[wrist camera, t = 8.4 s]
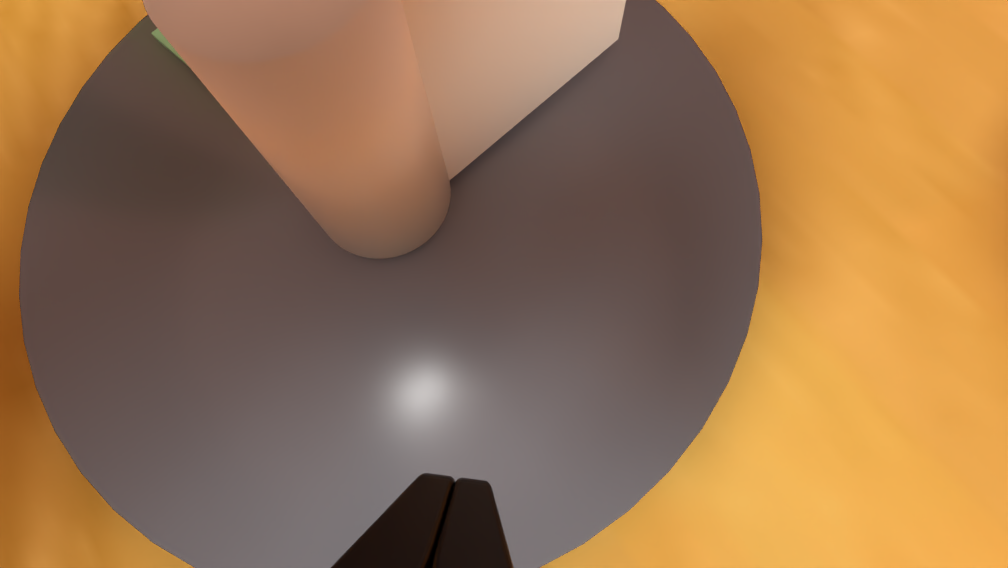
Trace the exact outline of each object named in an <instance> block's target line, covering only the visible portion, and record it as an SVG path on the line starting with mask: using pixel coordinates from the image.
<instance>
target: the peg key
mask: <svg viewBox="0 0 1008 568" xmlns="http://www.w3.org/2000/svg"><path fill="white" fill-rule="evenodd" d="M142 1H143V4H144V7H145V9H146V11H147V13H148V15H149V17H150V19H151V20H152V22H153V23H154V24H155V26H156V27H157V28H158V29H159V31H160V32H161V33H162V34H163V36H164V37H165V38H166V39H167V40H168V42H169V43H170V44H171V45H172V46H173V48H174V49H175V50H176V51H177V53H178V54H179V55H180V56H181V57H182V59H183V60H184V61H185V62H186V63H187V65H188V66H189V67H190V68H191V69H192V71H193V72H194V73H195V74H196V76H197V77H198V78H199V79H200V80H201V82H202V83H203V84H204V85H205V86H206V88H207V89H208V90H209V91H210V93H211V94H212V95H213V96H214V97H215V99H216V100H217V101H218V102H219V103H220V105H221V106H222V107H223V108H224V110H225V111H226V112H227V113H228V114H229V116H230V117H231V118H232V119H233V120H234V122H235V123H236V124H237V125H238V127H239V128H240V129H241V130H242V131H243V133H244V134H245V135H246V136H247V137H248V139H249V140H250V141H251V142H252V143H253V145H254V146H255V147H256V148H257V150H258V151H259V152H260V153H261V154H262V156H263V157H264V158H265V159H266V160H267V162H268V163H269V164H270V165H271V167H272V168H273V169H274V170H275V171H276V173H277V174H278V175H279V176H280V177H281V179H282V180H283V181H284V182H285V184H286V185H287V186H288V187H289V188H290V190H291V191H292V192H293V193H294V194H295V196H296V197H297V198H298V199H299V201H300V202H301V203H302V204H303V205H304V207H305V208H306V209H307V210H308V211H309V213H310V214H311V215H312V216H313V217H314V219H315V220H316V221H317V222H318V224H319V225H320V226H321V227H322V228H323V230H324V231H325V232H326V233H327V234H328V236H329V237H330V238H331V239H332V240H333V241H334V242H335V243H336V244H337V245H339V246H340V247H341V248H343V249H344V250H346V251H348V252H350V253H352V254H355V255H358V256H361V257H366V258H374V259H385V258H392V257H397V256H400V255H404V254H406V253H408V252H411V251H413V250H415V249H416V248H418V247H420V246H421V245H423V244H424V243H425V242H426V241H428V240H429V239H430V238H431V237H432V236H433V235H434V234H435V232H436V231H437V230H438V229H439V227H440V226H441V224H442V222H443V221H444V219H445V216H446V214H447V212H448V208H449V205H450V198H451V188H450V180H451V179H452V178H453V177H454V176H456V175H457V174H458V173H459V172H460V171H462V170H463V169H464V168H465V167H466V166H468V165H469V164H470V163H471V162H472V161H474V160H475V159H476V158H477V157H478V156H479V155H481V154H482V153H483V152H484V151H485V150H487V149H488V148H489V147H490V146H491V145H493V144H494V143H495V142H496V141H497V140H499V139H500V138H501V137H502V136H503V135H505V134H506V133H507V132H508V131H509V130H510V129H512V128H513V127H514V126H515V125H516V124H518V123H519V122H520V121H521V120H522V119H524V118H525V117H526V116H527V115H528V114H530V113H531V112H532V111H533V110H534V109H536V108H537V107H538V106H539V105H540V104H541V103H543V102H544V101H545V100H546V99H547V98H549V97H550V96H551V95H552V94H553V93H555V92H556V91H557V90H558V89H559V88H561V87H562V86H563V85H564V84H565V83H567V82H568V81H569V80H570V79H571V78H572V77H574V76H575V75H576V74H577V73H578V72H580V71H581V70H582V69H583V68H584V67H586V66H587V65H588V64H589V63H590V62H592V61H593V60H594V59H595V58H596V57H598V56H599V55H600V54H601V53H602V52H603V51H605V50H606V49H607V48H608V47H609V46H611V45H612V44H613V43H614V42H615V41H617V40H618V38H619V33H620V28H621V23H622V18H623V13H624V8H625V3H626V0H142Z"/></svg>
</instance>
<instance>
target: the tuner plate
mask: <svg viewBox="0 0 1008 568" xmlns="http://www.w3.org/2000/svg"><path fill="white" fill-rule="evenodd" d="M450 188H451V198H450V205H449V208H448V212H447V214H446V216H445V219H444V221H443V222H442V224H441V226H440V227H439V229H438V230H437V231H436V232H435V234H434V235H433V236H432V237H431V238H430V239H429V240H428V241H426V242H425V243H424V244H423V245H421V246H420V247H418V248H416V249H415V250H413V251H411V252H408V253H406V254H404V255H400V256H397V257H392V258H385V259H374V258H366V257H361V256H358V255H355V254H352V253H350V252H348V251H346V250H344V249H343V248H341V247H340V246H339V245H337V244H336V243H335V242H334V241H333V240H332V239H331V238H330V237H329V236H328V234H327V233H326V232H325V231H324V230H323V228H322V227H321V226H320V225H319V224H318V222H317V221H316V220H315V219H314V217H313V216H312V215H311V214H310V213H309V211H308V210H307V209H306V208H305V207H304V205H303V204H302V203H301V202H300V201H299V199H298V198H297V197H296V196H295V194H294V193H293V192H292V191H291V190H290V188H289V187H288V186H287V185H286V184H285V182H284V181H283V180H282V179H281V177H280V176H279V175H278V174H277V173H276V171H275V170H274V169H273V168H272V167H271V165H270V164H269V163H268V162H267V160H266V159H265V158H264V157H263V156H262V154H261V153H260V152H259V151H258V150H257V148H256V147H255V146H254V145H253V143H252V142H251V141H250V140H249V139H248V137H247V136H246V135H245V134H244V133H243V131H242V130H241V129H240V128H239V127H238V125H237V124H236V123H235V122H234V120H233V119H232V118H231V117H230V116H229V114H228V113H227V112H226V111H225V110H224V108H223V107H222V106H221V105H220V103H219V102H218V101H217V100H216V99H215V97H214V96H213V95H212V94H211V93H210V91H209V90H208V89H207V88H206V86H205V85H204V84H203V83H202V82H201V80H200V79H199V78H198V77H197V76H196V74H195V73H194V72H193V71H192V69H191V68H190V67H189V66H188V65H187V63H186V62H185V61H184V60H183V59H182V57H181V56H180V55H179V54H178V53H177V51H176V50H175V49H174V48H173V46H172V45H171V44H170V43H169V42H168V40H167V39H166V38H165V37H164V36H163V34H162V33H161V32H160V31H159V29H158V28H157V27H156V26H155V24H154V23H153V22H152V20H151V19H150V17H149V15H147V16H146V17H145V18H143V19H142V20H141V21H140V22H139V23H138V24H137V25H136V26H135V27H134V28H133V29H132V30H131V31H130V32H129V33H128V34H127V35H126V36H125V37H124V38H123V39H122V40H121V41H120V42H119V43H118V44H117V45H116V46H115V47H114V48H113V49H112V50H111V52H110V53H109V54H108V55H107V56H106V58H105V59H104V60H103V61H102V63H101V64H100V65H99V67H98V68H97V69H96V70H95V72H94V73H93V74H92V76H91V77H90V78H89V79H88V81H87V82H86V83H85V85H84V86H83V87H82V89H81V91H80V92H79V94H78V95H77V97H76V99H75V100H74V102H73V104H72V105H71V107H70V109H69V110H68V112H67V114H66V115H65V117H64V118H63V120H62V122H61V123H60V125H59V128H58V130H57V132H56V134H55V136H54V139H53V141H52V143H51V145H50V147H49V149H48V152H47V154H46V156H45V158H44V160H43V163H42V165H41V168H40V172H39V175H38V178H37V181H36V184H35V188H34V191H33V194H32V197H31V200H30V203H29V207H28V213H27V218H26V224H25V230H24V236H23V241H22V247H21V261H20V288H19V298H20V308H21V317H22V327H23V336H24V343H25V347H26V351H27V355H28V359H29V363H30V366H31V370H32V374H33V378H34V382H35V386H36V389H37V391H38V393H39V395H40V398H41V400H42V402H43V405H44V407H45V409H46V412H47V414H48V416H49V419H50V421H51V423H52V426H53V428H54V430H55V432H56V434H57V435H58V437H59V438H60V440H61V442H62V443H63V445H64V446H65V448H66V450H67V451H68V453H69V454H70V456H71V458H72V459H73V461H74V462H75V464H76V466H77V467H78V469H79V470H80V472H81V473H82V474H83V475H84V477H85V478H86V479H87V480H88V481H89V482H90V483H91V485H92V486H93V487H94V488H95V489H96V490H97V491H98V493H99V494H100V495H101V496H102V497H103V498H104V499H105V501H106V502H107V503H108V504H109V505H110V506H111V507H112V509H113V510H114V511H116V512H117V513H118V514H119V515H120V516H122V517H123V518H124V519H125V520H126V521H128V522H129V523H130V524H131V525H132V526H134V527H135V528H136V529H137V530H138V531H140V532H141V533H142V534H143V535H144V536H146V537H147V538H148V539H149V540H150V541H152V542H153V543H154V544H156V545H158V546H159V547H161V548H163V549H164V550H166V551H168V552H169V553H171V554H173V555H175V556H176V557H178V558H180V559H181V560H183V561H185V562H186V563H188V564H190V565H191V566H193V567H195V568H331V567H332V566H333V565H334V564H335V563H336V562H337V561H338V560H339V558H340V557H341V556H342V555H343V554H344V553H345V552H346V551H347V550H348V549H349V548H350V547H351V546H352V545H353V544H354V543H355V542H356V541H357V540H358V539H359V538H360V537H361V536H362V534H363V533H364V532H365V531H366V530H367V529H368V528H369V527H370V526H371V525H372V524H373V523H374V522H375V521H376V520H377V519H378V518H379V517H380V516H381V515H382V514H383V513H384V512H385V511H386V509H387V508H388V507H389V506H390V505H391V504H392V503H393V502H394V501H395V500H396V499H397V498H398V497H399V496H400V495H401V494H402V493H403V492H404V491H405V490H406V489H407V488H408V487H409V485H410V484H411V483H412V482H413V481H414V480H415V479H416V478H417V477H418V476H419V475H421V474H423V473H431V474H439V475H447V476H451V477H453V478H454V480H455V482H456V480H457V479H459V478H470V479H477V480H485V481H488V482H489V483H490V485H491V487H492V490H493V494H494V497H495V501H496V505H497V508H498V512H499V516H500V519H501V523H502V527H503V530H504V534H505V538H506V541H507V545H508V549H509V552H510V556H511V559H512V563H513V567H514V568H539V567H541V566H543V565H545V564H547V563H549V562H551V561H553V560H554V559H556V558H558V557H560V556H562V555H564V554H566V553H567V552H569V551H571V550H573V549H575V548H577V547H579V546H580V545H582V544H584V543H585V542H587V541H588V540H589V539H591V538H592V537H593V536H595V535H596V534H598V533H599V532H600V531H602V530H603V529H604V528H606V527H607V526H608V525H610V524H611V523H613V522H614V521H615V520H617V519H618V518H619V517H621V516H622V515H623V514H625V513H626V512H628V511H629V510H630V509H631V508H632V507H633V506H634V505H635V504H636V503H637V502H638V501H639V500H640V499H641V498H642V497H643V496H644V495H645V494H646V493H647V492H648V491H649V490H650V489H652V488H653V487H654V486H655V485H656V484H657V483H658V482H659V481H660V480H661V479H662V478H663V477H664V476H665V475H666V474H667V473H668V472H669V471H670V470H671V468H672V467H673V466H674V464H675V463H676V462H677V460H678V459H679V458H680V457H681V455H682V454H683V453H684V451H685V450H686V449H687V448H688V446H689V445H690V444H691V442H692V441H693V440H694V438H695V437H696V436H697V435H698V433H699V432H700V431H701V429H702V428H703V426H704V425H705V423H706V421H707V419H708V417H709V416H710V414H711V412H712V410H713V409H714V407H715V405H716V403H717V402H718V400H719V398H720V396H721V395H722V393H723V391H724V389H725V387H726V386H727V384H728V382H729V380H730V377H731V374H732V372H733V369H734V367H735V364H736V362H737V359H738V357H739V354H740V351H741V349H742V346H743V344H744V341H745V339H746V336H747V333H748V328H749V324H750V320H751V315H752V311H753V307H754V302H755V298H756V294H757V290H758V283H759V271H760V259H761V247H762V229H761V213H760V196H759V189H758V185H757V180H756V175H755V170H754V165H753V160H752V156H751V151H750V148H749V145H748V142H747V139H746V136H745V134H744V131H743V128H742V125H741V123H740V120H739V117H738V114H737V111H736V109H735V107H734V105H733V103H732V101H731V99H730V97H729V95H728V94H727V92H726V90H725V88H724V86H723V84H722V82H721V80H720V78H719V76H718V75H717V73H716V71H715V69H714V68H713V67H712V65H711V64H710V62H709V61H708V60H707V58H706V57H705V55H704V54H703V53H702V51H701V50H700V48H699V47H698V46H697V44H696V43H695V41H694V40H693V39H692V37H691V36H690V35H689V34H688V33H687V32H686V31H685V30H684V29H683V28H682V27H681V25H680V24H679V23H678V22H677V21H676V20H675V19H674V18H673V17H672V16H671V15H670V14H669V13H668V11H667V10H666V9H665V8H664V7H663V6H661V5H660V4H659V3H658V2H657V1H655V0H626V3H625V8H624V13H623V18H622V23H621V28H620V33H619V38H618V40H617V41H615V42H614V43H613V44H612V45H611V46H609V47H608V48H607V49H606V50H605V51H603V52H602V53H601V54H600V55H599V56H598V57H596V58H595V59H594V60H593V61H592V62H590V63H589V64H588V65H587V66H586V67H584V68H583V69H582V70H581V71H580V72H578V73H577V74H576V75H575V76H574V77H572V78H571V79H570V80H569V81H568V82H567V83H565V84H564V85H563V86H562V87H561V88H559V89H558V90H557V91H556V92H555V93H553V94H552V95H551V96H550V97H549V98H547V99H546V100H545V101H544V102H543V103H541V104H540V105H539V106H538V107H537V108H536V109H534V110H533V111H532V112H531V113H530V114H528V115H527V116H526V117H525V118H524V119H522V120H521V121H520V122H519V123H518V124H516V125H515V126H514V127H513V128H512V129H510V130H509V131H508V132H507V133H506V134H505V135H503V136H502V137H501V138H500V139H499V140H497V141H496V142H495V143H494V144H493V145H491V146H490V147H489V148H488V149H487V150H485V151H484V152H483V153H482V154H481V155H479V156H478V157H477V158H476V159H475V160H474V161H472V162H471V163H470V164H469V165H468V166H466V167H465V168H464V169H463V170H462V171H460V172H459V173H458V174H457V175H456V176H454V177H453V178H452V179H451V180H450Z"/></svg>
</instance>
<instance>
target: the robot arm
mask: <svg viewBox="0 0 1008 568" xmlns="http://www.w3.org/2000/svg"><path fill="white" fill-rule="evenodd" d="M331 568H514V567H513V563H512V559H511V556H510V552H509V549H508V545H507V541H506V538H505V534H504V530H503V527H502V523H501V519H500V516H499V512H498V508H497V505H496V501H495V497H494V494H493V490H492V487H491V485H490V483H489V482H488V481H485V480H477V479H470V478H459V479H457V480H456V482H455V480H454V478H453V477H451V476H447V475H439V474H431V473H423V474H421V475H419V476H418V477H417V478H416V479H415V480H414V481H413V482H412V483H411V484H410V485H409V487H408V488H407V489H406V490H405V491H404V492H403V493H402V494H401V495H400V496H399V497H398V498H397V499H396V500H395V501H394V502H393V503H392V504H391V505H390V506H389V507H388V508H387V509H386V511H385V512H384V513H383V514H382V515H381V516H380V517H379V518H378V519H377V520H376V521H375V522H374V523H373V524H372V525H371V526H370V527H369V528H368V529H367V530H366V531H365V532H364V533H363V534H362V536H361V537H360V538H359V539H358V540H357V541H356V542H355V543H354V544H353V545H352V546H351V547H350V548H349V549H348V550H347V551H346V552H345V553H344V554H343V555H342V556H341V557H340V558H339V560H338V561H337V562H336V563H335V564H334V565H333V566H332V567H331Z"/></svg>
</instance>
